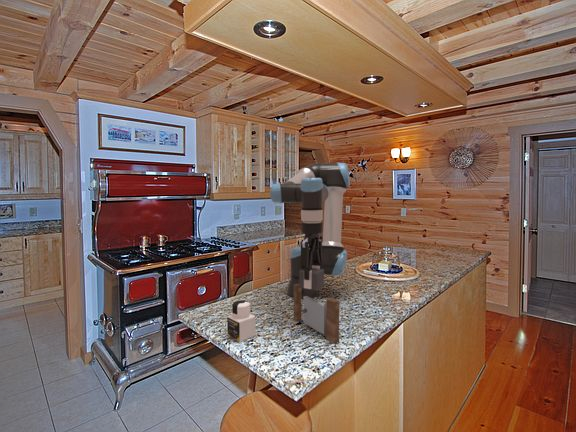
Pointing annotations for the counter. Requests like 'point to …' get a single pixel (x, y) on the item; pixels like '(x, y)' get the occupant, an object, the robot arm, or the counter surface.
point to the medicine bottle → (241, 321)
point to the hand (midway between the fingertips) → (311, 285)
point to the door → (314, 314)
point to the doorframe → (331, 314)
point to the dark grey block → (313, 279)
